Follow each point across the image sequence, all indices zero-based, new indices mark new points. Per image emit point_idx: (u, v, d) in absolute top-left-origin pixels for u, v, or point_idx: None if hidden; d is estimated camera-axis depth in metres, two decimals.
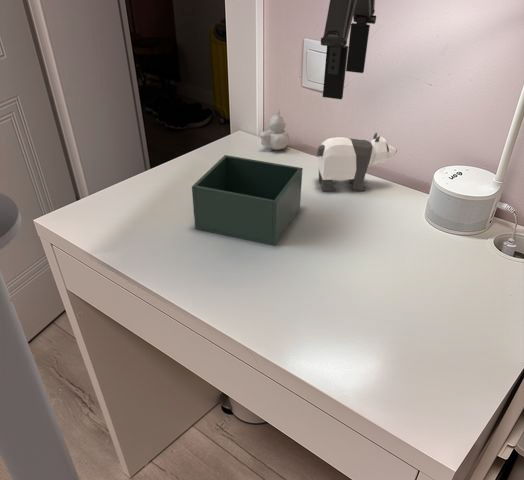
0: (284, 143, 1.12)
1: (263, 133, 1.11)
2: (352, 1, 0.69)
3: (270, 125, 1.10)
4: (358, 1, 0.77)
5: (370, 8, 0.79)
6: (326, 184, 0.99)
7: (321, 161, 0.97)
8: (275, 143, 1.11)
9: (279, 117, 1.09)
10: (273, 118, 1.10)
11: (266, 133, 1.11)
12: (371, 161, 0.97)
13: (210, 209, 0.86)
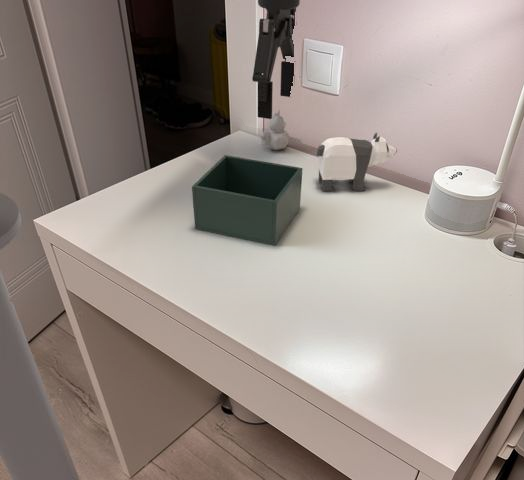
0: (284, 143, 1.12)
1: (263, 133, 1.11)
2: (273, 50, 0.97)
3: (270, 125, 1.10)
4: (284, 46, 1.05)
5: None
6: (326, 184, 0.99)
7: (321, 161, 0.97)
8: (275, 143, 1.11)
9: (279, 117, 1.09)
10: (273, 118, 1.10)
11: (266, 133, 1.11)
12: (371, 161, 0.97)
13: (210, 209, 0.86)
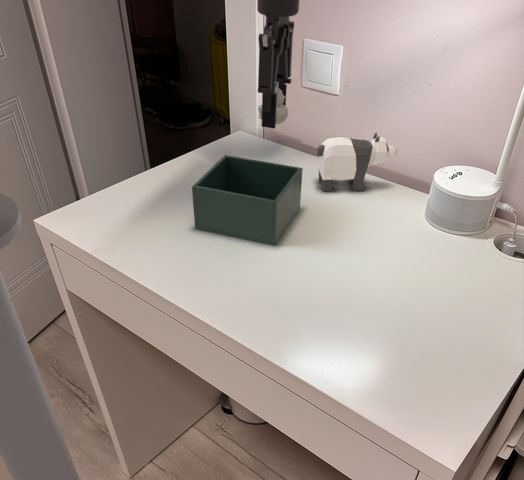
0: (283, 117, 1.08)
1: (261, 106, 1.07)
2: (275, 62, 1.00)
3: None
4: (278, 61, 1.05)
5: (287, 71, 1.07)
6: (326, 184, 0.99)
7: (321, 161, 0.97)
8: None
9: (278, 90, 1.06)
10: None
11: None
12: (371, 161, 0.97)
13: (210, 209, 0.86)
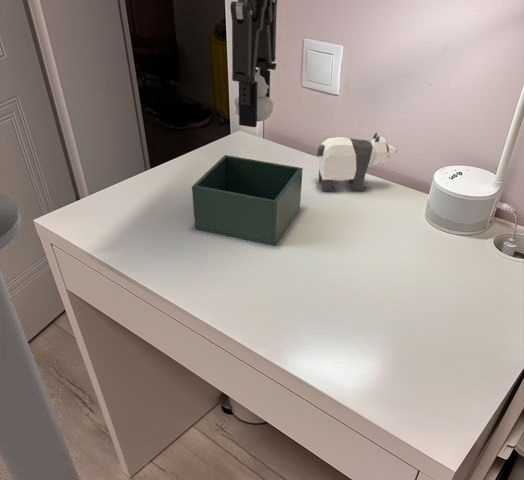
0: (266, 113, 0.84)
1: (238, 99, 0.83)
2: (253, 40, 0.76)
3: None
4: (258, 41, 0.81)
5: (270, 53, 0.83)
6: (326, 184, 0.99)
7: (321, 161, 0.97)
8: None
9: (259, 77, 0.82)
10: None
11: None
12: (371, 161, 0.97)
13: (210, 209, 0.86)
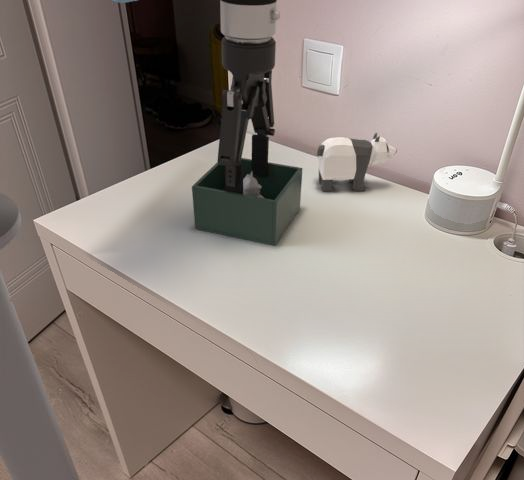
0: None
1: None
2: (242, 126, 0.77)
3: None
4: (255, 116, 0.84)
5: (268, 122, 0.86)
6: (326, 184, 0.99)
7: (321, 161, 0.97)
8: None
9: (251, 180, 0.86)
10: (244, 181, 0.87)
11: None
12: (371, 161, 0.97)
13: (210, 209, 0.86)
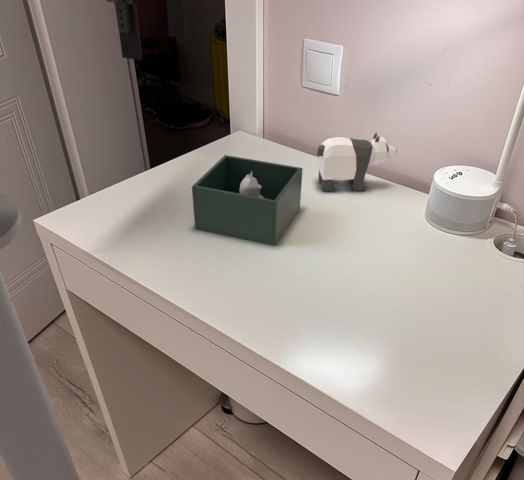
0: None
1: None
2: None
3: (240, 189, 0.88)
4: None
5: None
6: (326, 184, 0.99)
7: (321, 161, 0.97)
8: None
9: (251, 180, 0.86)
10: (244, 181, 0.87)
11: None
12: (371, 161, 0.97)
13: (210, 209, 0.86)
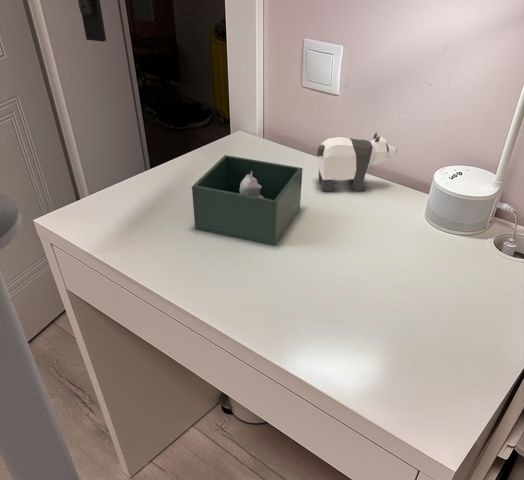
0: None
1: None
2: None
3: (240, 189, 0.88)
4: None
5: None
6: (326, 184, 0.99)
7: (321, 161, 0.97)
8: None
9: (251, 180, 0.86)
10: (244, 181, 0.87)
11: None
12: (371, 161, 0.97)
13: (210, 209, 0.86)
